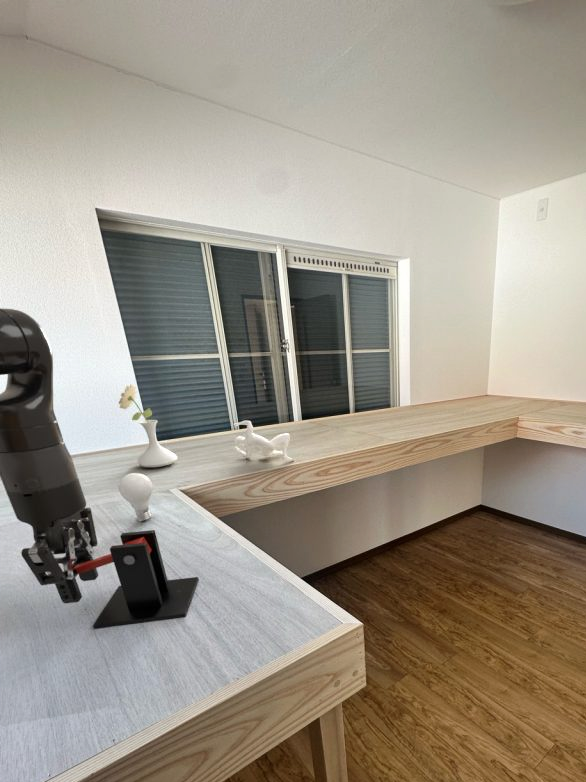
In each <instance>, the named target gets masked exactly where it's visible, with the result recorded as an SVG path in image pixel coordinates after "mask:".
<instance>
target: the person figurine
mask: <svg viewBox="0 0 586 782" xmlns="http://www.w3.org/2000/svg"><path fill="white" fill-rule="evenodd" d="M240 425H241V426H242V425H244V426H246V430H245V436H236V437H235V438H234V443H235V444H236V445H238V446H243V447H244V448H245V451H244V450H241V449H240V448H239V447H238V446H233V450H234V451H235V452H238V454H240V455H241V456H242V457H243V458H244V459H246V458H247V459H249V458H252V457H253V456H254V454H255V453H257V452H258V453H259V455H261V456H263V457H271V456H276V455H281V459H282V460H287V461H292V460H291V459H292V458H291V457H289V456H288V454H287V449H288V446H289V444H290V439H291V434H290V433H281V434H277V435H276V436H275V437H273V438H272V439H270V440H268V439H267V438H265V437H263V436H261V435H258V434H256V433H254V426H253V424H252V421H251V420H247V419H246V420H242V421H239V422H233V426H234V427H237V426H240ZM280 447H281V450H276V449H278V448H280Z"/></svg>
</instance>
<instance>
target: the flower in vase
mask: <svg viewBox="0 0 586 782" xmlns="http://www.w3.org/2000/svg"><path fill="white" fill-rule="evenodd" d="M136 394H137V388H136V386H134V385H133V384H132V383H131V384H129V385H126V387H125V388H124V392H122V393H120V396H121V397H120V399H119V401H118V405H119V408H120V409H123V410H127V409H128V408H129V407H130V406H131V405H132V404H133V403H134V404H135V406H136V407H137V409H138V411H137V412H135V413H134V414H133V415H132V418H131V420H132V421H138V420H140V418H141V416H143V419H144V420H141V421H139V422H138V423H139V424H140V425H141V426H142V427H143V429H144V430H145V433H146V435H147V439H148V447H147V448H146V449H145V450H144V451H143V452H142V453H141V455H139V456H138V459H137V460H136V463H137V465H139V466H140V467H144V468H160V467H165V466H169V465H171V464H173V463H175V462H176V461H178V456H177V455H176V453H174V452H172V451H171V450H169V449H167V448H165V447H163V446H162V445H160V443H159V442H158V439H157V435H156V434H157V433H156V427H157V423H158V420H157V419H147V418H149V417H152V415H153V412H152V410H151V408H150V407H148V408H146V409H145V410H144V411H142V410H141V408H140V406H139V405H138V403H137V402H136V401H135V398H136Z"/></svg>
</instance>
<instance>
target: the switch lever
mask: <svg viewBox="0 0 586 782" xmlns="http://www.w3.org/2000/svg"><path fill="white" fill-rule="evenodd" d="M135 543H147V541H146V540H145V538H144V537H141V538H138V539H135V540H132V541H129V542H126V543H124V545H125V544H135ZM147 547H148V550H149V554H150V552H151V551H152V549H151V548H150V546H149V544H148V543H147ZM113 563H114V561H113V558H112V555H111V553H109V554H105V555H102V556H99V557H97V558H93V560H90V561H86V560H85V559H84V558H78V559H76V560H75V561H73V562H72V567H73V575H74V576H73V577H75V578H77V576H79V573H82V572H85V571H88V570H91V569H94V568H96V569H98V568H100V567H103V566H106V565H109V564H113Z"/></svg>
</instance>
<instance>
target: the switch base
mask: <svg viewBox="0 0 586 782" xmlns="http://www.w3.org/2000/svg"><path fill="white" fill-rule="evenodd" d="M119 537H120V540H121V544H117V545H116V544H115V545H111V546H110V548H109V552H110V554H111V555H112V558H113V561H114V562H113V564H114V567H115V571H116V574H117V578H118V580H119V584H120V585H118V586H117V588H116V589H115V591H114V593H113V594H112V595H111V597H110V598H109V600H108V602H107V603H106V605H105V606H104V607H103V609H102V610H101V612H100V614H99V615H98V617H97V619H96V620H95V621H94V623H93V624H92V627H93V630H98V629H104V628H105V629H106V628H113V627H119V626H121V627H122V626H127V625H128V626H129V625H134V624H135V625H137V624H143V623H152V622H159V621H165V620H173V619H182V618H186V617H187V614H188V612H189V609H190V607H191V603H192V601H193V597H194V595H195V593H196V590H197V587H198V584H199V576H194V577H185V578H176V579H175V578H174V579H168V577H167V572H166V569H165V568H166V567H165V566H164V562H163V561H164V560H163V557H162V553H161V550H160V546H159V542H158V537H157V534H156V530H155V529H150V530H140V531H139V530H138V531H129V532H122V533H121V534H120V535H119ZM141 537H144V538H145V540H146V541H147V543H148V544H149V546H150V548H151V549H152V551H151V552H150V554H149V550H148V547H147V543H135V544H125V545H124V543H126V542H129V541H132V540H135V539H138V538H141Z"/></svg>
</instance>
